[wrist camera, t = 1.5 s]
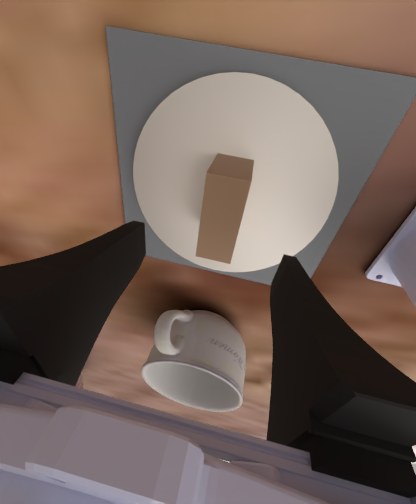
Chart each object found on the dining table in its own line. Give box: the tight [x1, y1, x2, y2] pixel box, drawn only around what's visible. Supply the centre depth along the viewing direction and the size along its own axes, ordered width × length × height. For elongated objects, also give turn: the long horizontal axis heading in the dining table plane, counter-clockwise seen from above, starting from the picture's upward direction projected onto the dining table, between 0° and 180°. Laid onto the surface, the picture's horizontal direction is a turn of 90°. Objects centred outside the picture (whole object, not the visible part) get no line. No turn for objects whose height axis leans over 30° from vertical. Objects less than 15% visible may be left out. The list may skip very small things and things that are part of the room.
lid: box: [133, 72, 339, 272], centre depth 16 cm, size 15×15×5 cm
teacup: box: [141, 310, 246, 412], centre depth 26 cm, size 14×11×8 cm
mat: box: [106, 26, 416, 285], centre depth 18 cm, size 18×17×1 cm
